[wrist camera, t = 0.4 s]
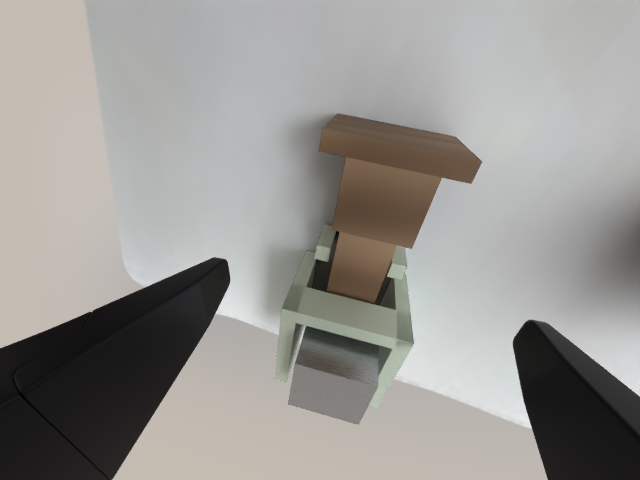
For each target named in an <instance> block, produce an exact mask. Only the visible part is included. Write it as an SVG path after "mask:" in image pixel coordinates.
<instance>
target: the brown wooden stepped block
mask: <svg viewBox="0 0 640 480" xmlns="http://www.w3.org/2000/svg"><path fill="white" fill-rule="evenodd" d="M319 152H324V153H329V154H333V155H338V156H343V157H346V160H345V165H344V170H343V175H342V180H341V185H340V189H339V194H338V199H337V204H336V209H335V214H334V219H333V223H332V228H331V230H334V231H338V232H340V233H339V237H338V242H337V246H336V251H335V255H334V259H333V264H332V268H331V273H330V277H329V281H328V286H327V290H326V292H327V293H331V294H335V295H339V296H343V297H347V298H351V299H355V300H358V301H362V302H366V303H370V304H375V301H376V298H377V296H378V293H379V291H380V288H381V285H382V283H383V280H384V278H385V275H386V272H387V270H388V267H389V264H390V262H391V259H392V257H393V254H394V251H395V249H396V246H397V245H398V246H402V247H406V248H411V249H412V247H413V244H414V242H415V240H416V237H417V235H418V233H419V230H420V228H421V226H422V223H423V221H424V219H425V216H426V214H427V211H428V209H429V207H430V204H431V202H432V200H433V197H434V195H435V193H436V190H437V188H438V186H439V183H440V181H441V178H447V179H451V180H456V181H461V182H466V183H470V184H471V183H472V181H473V179H474V177H475V175H476V173H477V171H478V169H479V167H480V165H481V163H482V161H481V160H480V159H479V158H478V157H477V156H476V155H475V154H473V153H472V152H471V151H470V150H469V149H468V148H467V147H466V146H465V145H464V144H463V143H462V142H461V141H460V140H459V139H457V138H456V137H453V136H448V135H443V134H438V133H433V132H428V131H423V130H418V129H413V128H408V127H403V126H398V125H393V124H388V123H383V122H378V121H373V120H368V119H363V118H358V117H353V116H348V115H343V114H337V115H336V116H335V117H334V118H333V119H332V120H331V121H330V122H329V123H328V124H327V125H326V126H325V127H324V128H323V129H322V133H321V140H320V147H319Z"/></svg>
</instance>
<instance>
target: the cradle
mask: <svg viewBox="0 0 640 480" xmlns="http://www.w3.org/2000/svg"><path fill="white" fill-rule="evenodd" d="M331 228H332V226H331V225H327V224H324V227H323V230H322V232H321V235H320V238H319V240H318V243H317V246H316V252H311V251H307V250H306V253H305V255H304V257H303V260H302V262H301V264H300V267H299V269H298V271H297V274H296V276H295V279H294V281H293V283H292V286H291V288H290V290H289V293H288V295H287V297H286V300H285V302H284V304H283V307H282V311H281V320H280V330H279V340H278V350H277V359H276V369H275V378H274V379H277V380H280V381H284V382H287V378H288V375H289V372H290V369H291V366H292V362H293V359H294V356H295V352H296V349H297V346H298V343H299V340H300V337H301V333H302V330H303V327H304V325H305V326H309V327H313V328H316V329H320V330H324V331H328V332H331V333H335V334H339V335H343V336H346V337H350V338H354V339H357V340H361V341H365V342H369V343H372V344H376V345H379V366H378V388H377V390H376V392H375V394H374V396H373V398H372V400H371V402H370V404H369V405H368V406H371V407H375V408H377V407H378V406H379V404H380V402H381V400H382V398H383V396H384V395H385V393H386V391H387V390H388V388H389V386H390V384H391V383H392V381H393V379H394V377H395V376H396V374H397V372H398V370H399V369H400V367H401V365H402V363H403V362H404V360H405V358H406V356H407V355H408V353H409V351H410V349H411V348H412V346H413V344H414V340H413V331H412V322H411V313H410V304H409V295H408V286H407V277H406V275H405V274H404V273H405V271H406V269H407V261H406V253H405V247H402V246H398V245H397V246H396V249H395V251H394V254H393V257H392V259H391V262H390V264H389V267H388V270H387V277H391V281H390V283H389V286H388V288H387V290H386V293H385V295H384V298H383V300H382V303H381V305H380V306H378V305H374V304H370V303H366V302H362V301H358V300H355V299H351V298H347V297H343V296H339V295H335V294H331V293H327V292H323V291H319V290H315V289H312V283H313V278H314V272H315V267H316V261H317V260H322V261H326V262H328V260H329V257H330V253H331V250H332V247H333V243H334V240H335V235H336V231H334V230H331Z"/></svg>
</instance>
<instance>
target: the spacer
mask: <svg viewBox="0 0 640 480" xmlns="http://www.w3.org/2000/svg"><path fill="white" fill-rule="evenodd" d="M378 366H379V345H376V344H372V343H369V342H365V341H361V340H357V339H354V338H350V337H346V336H343V335H339V334H335V333H331V332H328V331H324V330H320V329H316V328H313V327H309V326H306V329H305V332H304V336H303V339H302V342H301V346H300V349H299V353H298V356H297V359H296V362H295V367H294V373H293V378H292V385H291V390H290V396H289V402H288V404H289V405H293V406H296V407H300V408H303V409H306V410H310V411H314V412H317V413H320V414H323V415H327V416H330V417H334V418H337V419H341V420H344V421H347V422H351V423H354V424H359V423H360V421H361V419H362V417H363V415H364V413H365V411H366V409H367V407H368V405H369V404H370V402H371V400H372V398H373V396H374V394H375V392H376V390H377V388H378Z"/></svg>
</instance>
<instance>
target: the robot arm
mask: <svg viewBox="0 0 640 480" xmlns="http://www.w3.org/2000/svg"><path fill="white" fill-rule="evenodd" d="M229 284H230V273H229V267H228V262H227V260H225V259H221V258H216V257H214V258H211V259H209V260H207V261H204V262H202V263H200V264H198V265H195V266H193V267H191V268H188V269H186V270H184V271H182V272H179V273H177V274H175V275H173V276H170V277H168V278H166V279H163V280H161V281H159V282H157V283H154V284H152V285H150V286H148V287H145V288H143V289H141V290H138V291H136V292H134V293H132V294H129V295H127V296H125V297H123V298H120V299H118V300H116V301H113V302H111V303H109V304H107V305H104V306H102V307H100V308H97V309H95V310H94V311H93V312H88V313H86V314H84V315H82V316H79V317H77V318H75V319H72V320H70V321H68V322H66V323H63V324H61V325H58V326H56V327H53V328H51V329H49V330H46V331H44V332H41V333H39V334H36V335H34V336H31V337H29V338H26V339H24V340H21V341H18V342H16V343H13V344H11V345H8V346H5V347H3V348H0V480H112V479H113V478H114V476H115V474H116V473H117V471H118V470H119V468H120V467H121V465H122V463H123V462H124V460H125V459H126V457H127V455H128V454H129V452H130V451H131V449H132V447H133V446H134V444H135V443H136V441H137V440H138V438H139V436H140V435H141V433H142V432H143V430H144V428H145V427H146V425H147V424H148V422H149V420H150V419H151V417H152V416H153V414H154V413H155V411H156V409H157V408H158V406H159V405H160V403H161V401H162V400H163V398H164V397H165V395H166V393H167V392H168V390H169V389H170V387H171V386H172V384H173V382H174V381H175V379H176V378H177V376H178V374H179V373H180V371H181V369H182V368H183V366H184V365H185V363H186V362H187V360H188V359H189V357H190V355H191V354H192V352H193V351H194V349H195V347H196V346H197V344H198V343H199V341H200V339H201V338H202V336H203V335H204V333H205V332H206V330H207V328H208V327H209V325H210V323H211V321H212V319H213V317H214V315H215V313H216V311H217V309H218V307H219V305H220V303H221V301H222V299H223V297H224V295H225V293H226V291H227V289H228V287H229ZM513 349H514V354H515V359H516V364H517V369H518V375H519V380H520V385H521V390H522V395H523V399H524V403H525V406H526V410H527V413H528V417H529V420H530V423H531V426H532V430H533V433H534V436H535V439H536V443H537V446H538V449H539V452H540V455H541V459H542V462H543V465H544V468H545V472H546V475H547V478H548V480H640V397H639V396H638V395H637V394H636V393H634V392H633V391H632V390H631V389H629V388H628V387H627V386H626V385H624V384H623V383H622V382H621V381H619V380H618V379H617V378H616V377H614V376H613V375H612V374H611V373H609V372H608V371H607V370H606V369H604V368H603V367H602V366H600V365H599V364H598V363H597V362H595V361H594V360H593V359H592V358H590V357H589V356H588V355H587V354H585V353H584V352H583V351H582V350H580V349H579V348H578V347H577V346H575V345H574V344H573V343H572V342H570V341H569V340H568V339H567V338H565V337H564V336H563V335H562V334H560V333H559V332H558V331H557V330H555V329H554V328H553V327H552V326H550V325H549V324H547V323H545V322H541V321H536V320H528V321H526V322H525V323H524V325H523V326H522V328H521V329H520V330H519V332H518V333H517V335H516V336H515V338H514V340H513Z"/></svg>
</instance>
